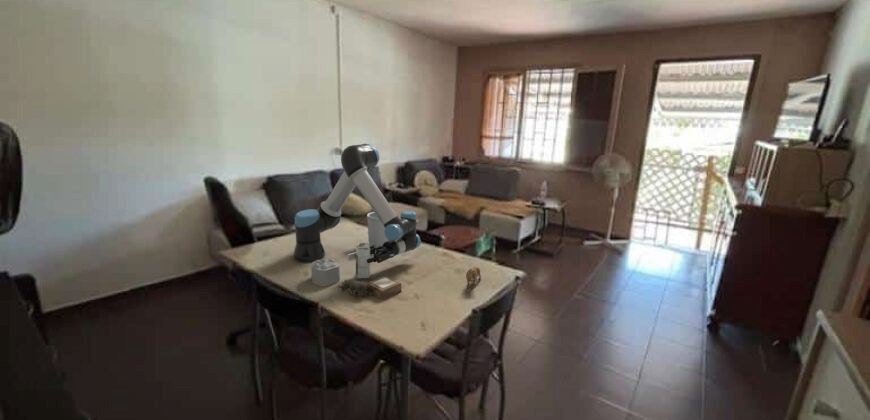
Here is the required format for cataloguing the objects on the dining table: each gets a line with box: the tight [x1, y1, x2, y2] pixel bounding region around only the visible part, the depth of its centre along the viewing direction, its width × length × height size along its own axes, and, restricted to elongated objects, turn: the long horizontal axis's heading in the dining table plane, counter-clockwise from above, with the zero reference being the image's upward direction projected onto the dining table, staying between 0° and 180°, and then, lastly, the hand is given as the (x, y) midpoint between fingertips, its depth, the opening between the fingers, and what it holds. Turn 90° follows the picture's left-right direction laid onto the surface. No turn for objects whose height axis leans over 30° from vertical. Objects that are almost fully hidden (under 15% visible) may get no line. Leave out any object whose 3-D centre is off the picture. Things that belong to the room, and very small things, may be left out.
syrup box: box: [355, 242, 371, 279], centre depth 167 cm, size 6×6×14 cm
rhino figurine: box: [338, 279, 372, 299], centre depth 154 cm, size 4×14×6 cm, turn 74°
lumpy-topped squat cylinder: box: [310, 257, 341, 287], centre depth 167 cm, size 10×13×9 cm
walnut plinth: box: [366, 276, 402, 300], centre depth 157 cm, size 10×10×4 cm
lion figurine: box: [465, 266, 482, 288], centre depth 166 cm, size 15×5×9 cm, turn 165°
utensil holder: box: [366, 211, 390, 247], centre depth 212 cm, size 15×15×18 cm
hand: (353, 260), depth 163 cm, fingers closed on syrup box, 8 cm apart
